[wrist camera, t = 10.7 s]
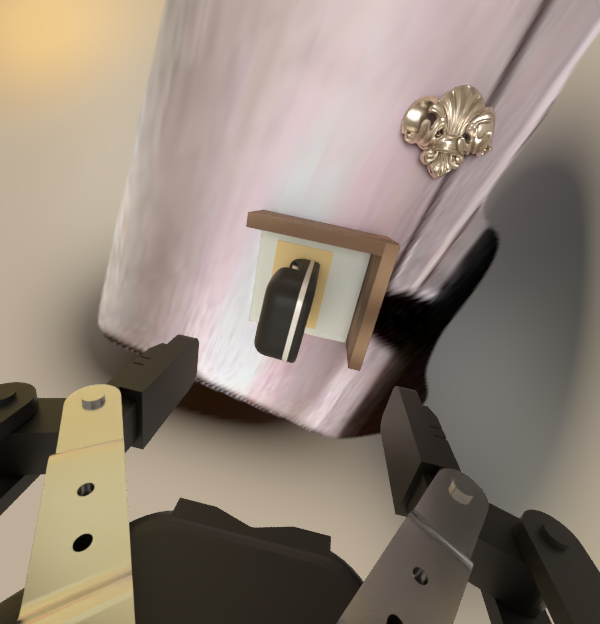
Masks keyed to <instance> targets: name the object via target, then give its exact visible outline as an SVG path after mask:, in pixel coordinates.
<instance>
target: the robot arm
mask: <svg viewBox="0 0 600 624" xmlns="http://www.w3.org/2000/svg"><path fill="white" fill-rule="evenodd" d="M198 349H199V341H198V339H197V338H193V337H188V336H184V335H177V336H176V337H175V338H174V339H172V340H171V341H170V342H169V343H168V344H164V343H162V344H159V345H157V346H154V347H152V348H149V349H148V350H147V351H146V352H144V353H143V354H142V355H141V357H139V358H137V359H136V360H135V361H134V362H133V363H131V364H130V365H129V366H127V367H126V368H125V369H124V370H123V371H121V372H120V373H119V374H118V375H116V376H115V377H114V378H113V379H112V380H110V381H109V382H108V383H107V384H106V385H105V384H98V385H91V386H87V387H84V388H81V389H79V390H77V391H75V392H73V393H72V394H71V395H69V396H68V397H67V398H37V394H36V389H35V388H34V387H33V386H32V385H30V384H27V383H20V382H14V383H5V384H0V515H1V514H2V513H3V512H4V511H5V510H6V509H7V508H8V507H9V506H10V505H11V504H12V503H13V502H14V501H15V500H16V499H17V498H18V497H19V496H20V495H21V494H22V493H23V492H24V491H25V490H26V489H27V488H28V487H29V486H30V484H32V483H33V481H35V479H37V478H38V477H39V475H40V474H46V475H45V480H44V486H43V491H42V497H41V502H40V507H39V513H38V518H37V524H36V530H35V535H34V540H33V546H32V551H31V557H30V562H29V567H28V573H27V578H26V584H25V588H23V589H22V590H20V591H19V592H17V593H16V594H14V595H12V596H11V597H9V598H7V599H6V600H4V601H3V602H1V603H0V624H453V622H454V620H455V617H456V614H457V611H458V608H459V605H460V602H461V600H462V597H463V594H464V591H465V588H466V585H467V583H468V582H469V583H471V584H473V585H475V586H476V587H478V588H479V589H481V592H482V595H483V599H484V602H485V605H486V608H487V612H488V615H489V618H490V621H491V624H552V623H551V621H550V619H549V617H548V615H547V612H546V610H545V609H546V608H547V609H548V611H549V613H550V615H551V617H552V619H553V622H554V624H600V572H599V571H598V569H597V568H596V566H595V564H594V563H593V561H592V560H591V558H590V557H589V555H588V554H587V552H586V551H585V549H584V548H583V546H582V545H581V543H580V542H579V540H578V539H577V538H576V537H575V536H574V534H573V533H571V532H570V530H568V529H567V528H566V527H565V526H564V525H563V524H561V523H560V522H559V521H557V520H556V519H554V518H553V517H551V516H549V515H548V514H545V513H543V512H540V511H537V510H527V511H525V512H524V513H523V515H522V516H521V517H520V519H519V518H517V517H515V516H513V515H511V514H510V513H508V512H506V511H504V510H501V509H500V508H498V507H496V506H494V505H492V504H490V503H489V502H488V498H487V496H486V494H485V493H484V491H483V490H482V488H481V487H480V486H479V485H478V484H477V483H476V482H475V481H474V480H473V479H471V478H470V477H469V476H467V475H466V474H464V473H462V472H461V470H460V468H459V466H458V463H457V461H456V459H455V457H454V455H453V452H452V450H451V448H450V445H449V443H448V441H447V440H446V436H445V434H444V432H443V431H442V427H441V425H440V423H439V420H438V418H437V417H436V415H435V414H434V413H433V412H432V411H431V410H430V409H429V408H428V407H427V406H423V405H422V404H421V401H420V399H419V396H418V394H417V392H416V391H415V390H411V389H407V388H403V387H398V386H395V387H394V389H393V391H392V394H391V396H390V399H389V401H388V404H387V406H386V409H385V412H384V414H383V417H382V421H381V436H382V441H383V447H384V452H385V458H386V464H387V469H388V475H389V481H390V486H391V492H392V497H393V503H394V509H395V514H397V515H401V516H405V517H406V519H405V520H404V522H403V523H402V525H401V526H400V528H399V529H398V531H397V532H396V534H395V535H394V537H393V538H392V540H391V541H390V543H389V545H388V546H387V548H386V549H385V551H384V552H383V554H382V555H381V557H380V558H379V560H378V561H377V563H376V564H375V566H374V567H373V569H372V570H371V572H370V573H369V575H368V576H367V578H366V579H365V581H364V582H363V581H362V579H361V578H360V576H359V575H358V574H357V573H356V572H355V571H354V570H353V568H352V567H350V566H349V565H348V564H347V563H346V562H345V561H344V560H343V559H341V558H340V557H339V556H337V555H336V554H334V553H333V552H331V551H330V542H331V537H330V536H327V535H323V534H320V533H316V532H312V531H308V530H304V529H300V528H296V527H265V528H253V527H250V526H248V525H246V524H245V523H243V522H241V521H239V520H238V519H236V518H234V517H233V516H231V515H229V514H228V513H226V512H224V511H222V510H221V509H219V508H217V507H215V506H211V505H207V504H202V503H199V502H195V501H191V500H187V499H183V498H180V499H179V501H178V503H177V505H176V507H175V509H174V510H173V511H163V512H158V513H154V514H150V515H146V516H144V517H141V518H138V519H136V520H134V521H132V522H130V523H129V517H128V499H127V483H126V466H125V453H126V451H127V450H128V449H129V448H130V447H131V446H132V447H136V448H140V449H144V447H145V446H146V445H147V444H148V442H149V441H150V440H151V438H152V437H153V436H154V434H155V433H156V432H157V431H158V429H159V428H160V426H161V425H162V424H163V423H164V421H165V420H166V419H167V417H168V416H169V415H170V413H171V412H172V411H173V410H174V408H175V407H176V406H177V404H178V403H179V402H180V400H181V399H182V398H183V396H184V395H185V394H186V393H187V391H188V389H190V387H191V386H192V384H193V382H194V380H195V377H196V373H197V363H198Z"/></svg>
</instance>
